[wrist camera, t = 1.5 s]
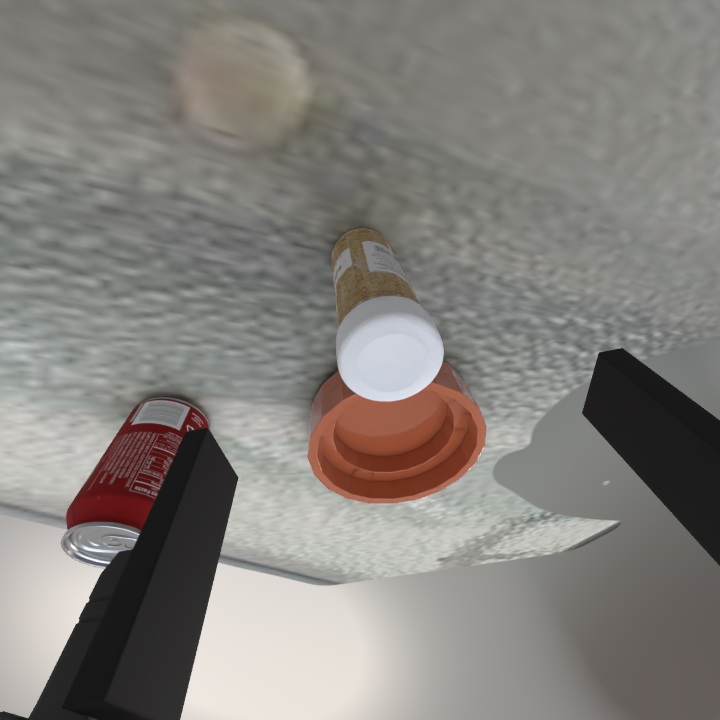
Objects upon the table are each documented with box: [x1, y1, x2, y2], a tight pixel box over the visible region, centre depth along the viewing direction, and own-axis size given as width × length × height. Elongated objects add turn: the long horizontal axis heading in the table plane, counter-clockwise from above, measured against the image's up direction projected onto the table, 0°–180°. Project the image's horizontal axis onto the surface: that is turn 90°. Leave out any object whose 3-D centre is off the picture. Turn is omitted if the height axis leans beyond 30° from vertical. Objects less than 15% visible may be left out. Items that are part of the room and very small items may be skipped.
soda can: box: [61, 397, 210, 568], centre depth 27 cm, size 7×7×12 cm
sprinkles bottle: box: [331, 228, 444, 401], centre depth 20 cm, size 5×5×14 cm
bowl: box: [308, 362, 486, 503], centre depth 32 cm, size 16×16×5 cm
